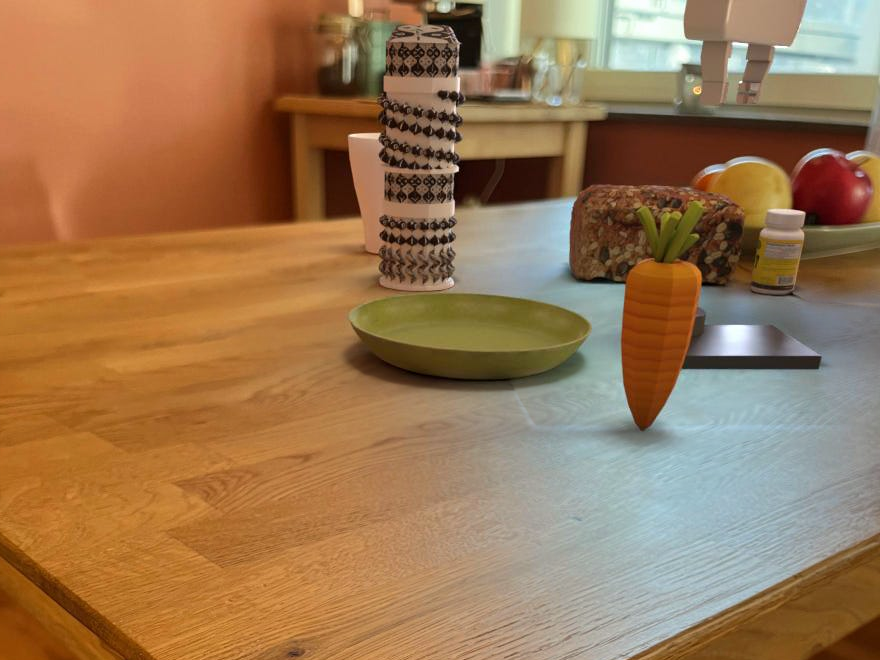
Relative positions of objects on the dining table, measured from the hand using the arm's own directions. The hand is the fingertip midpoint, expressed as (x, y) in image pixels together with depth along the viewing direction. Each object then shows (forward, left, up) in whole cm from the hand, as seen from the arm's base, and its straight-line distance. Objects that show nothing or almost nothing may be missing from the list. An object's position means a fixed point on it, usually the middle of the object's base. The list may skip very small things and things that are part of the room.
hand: (730, 105), depth 90 cm
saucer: (+24, +11, -19) cm, 32 cm away
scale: (+1, +10, -19) cm, 22 cm away
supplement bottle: (-14, -17, -19) cm, 30 cm away
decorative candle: (+26, -20, -19) cm, 38 cm away
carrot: (+14, +31, -19) cm, 39 cm away
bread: (-2, -25, -19) cm, 32 cm away
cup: (+28, -41, -19) cm, 53 cm away
